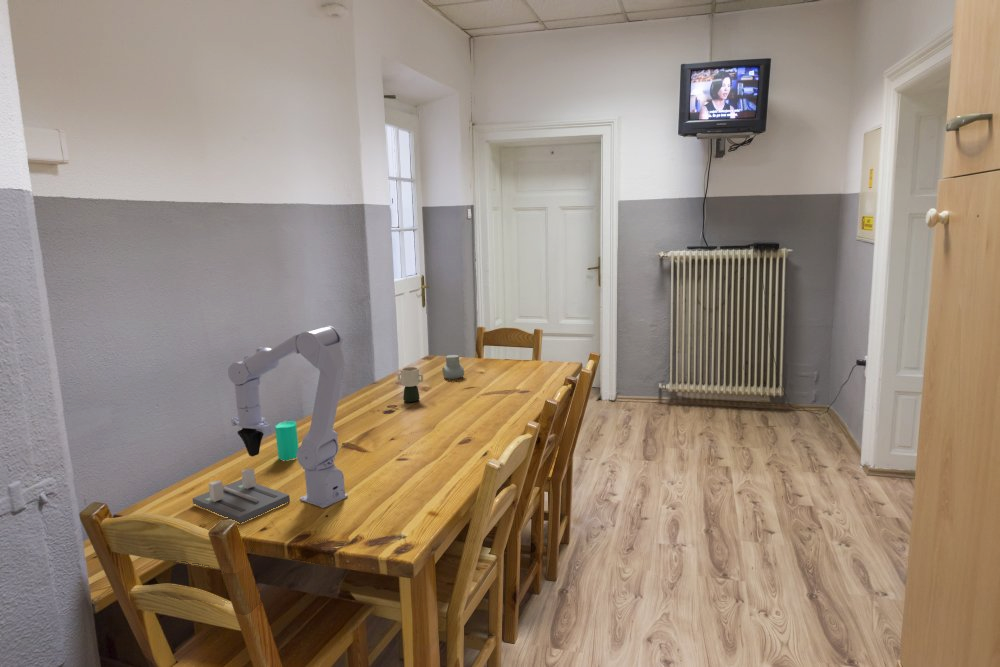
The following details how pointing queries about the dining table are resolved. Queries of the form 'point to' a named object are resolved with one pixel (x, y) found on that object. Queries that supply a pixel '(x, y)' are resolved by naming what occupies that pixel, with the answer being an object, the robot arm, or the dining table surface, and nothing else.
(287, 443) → the candle
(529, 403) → the dining table surface
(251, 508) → the slider control panel
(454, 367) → the air freshener
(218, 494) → the block
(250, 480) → the breaker
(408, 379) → the character mug
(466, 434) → the dining table surface
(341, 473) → the robot arm
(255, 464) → the dining table surface
